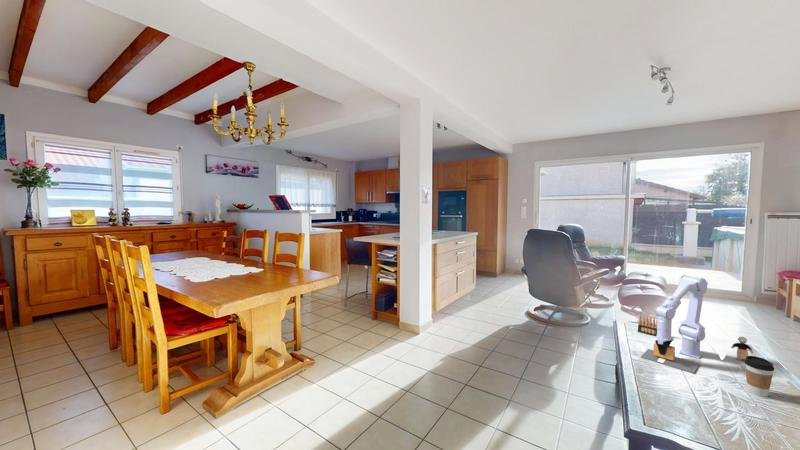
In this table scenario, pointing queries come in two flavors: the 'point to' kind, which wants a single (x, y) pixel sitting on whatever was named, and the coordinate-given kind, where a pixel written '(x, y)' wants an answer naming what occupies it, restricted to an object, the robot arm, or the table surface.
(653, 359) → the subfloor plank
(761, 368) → the coffee cup
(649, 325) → the ammunition clip
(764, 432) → the table surface
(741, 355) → the grandmother figurine
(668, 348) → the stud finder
